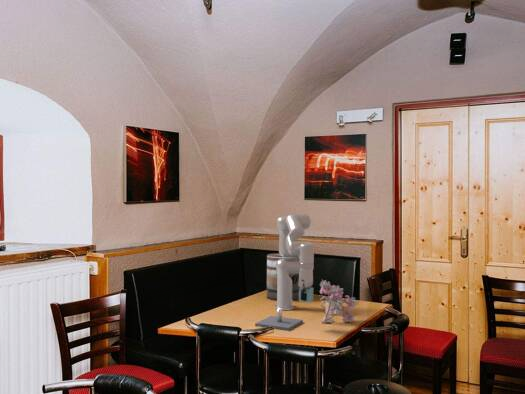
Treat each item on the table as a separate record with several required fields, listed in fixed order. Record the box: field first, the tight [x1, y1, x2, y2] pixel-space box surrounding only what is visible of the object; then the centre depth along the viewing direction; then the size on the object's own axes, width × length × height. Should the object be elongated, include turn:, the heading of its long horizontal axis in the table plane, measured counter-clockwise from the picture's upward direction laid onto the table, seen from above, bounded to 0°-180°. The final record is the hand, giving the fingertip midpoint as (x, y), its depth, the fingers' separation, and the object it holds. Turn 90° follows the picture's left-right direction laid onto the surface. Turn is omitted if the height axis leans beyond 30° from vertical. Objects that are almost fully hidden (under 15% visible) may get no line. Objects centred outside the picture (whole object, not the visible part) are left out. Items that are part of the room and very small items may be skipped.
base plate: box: [254, 315, 304, 332], centre depth 284 cm, size 20×20×2 cm
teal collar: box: [298, 287, 314, 303], centre depth 278 cm, size 6×6×7 cm
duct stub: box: [276, 309, 283, 322], centre depth 284 cm, size 3×3×7 cm
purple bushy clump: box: [320, 295, 338, 316], centre depth 313 cm, size 12×9×12 cm
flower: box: [319, 279, 357, 324], centre depth 290 cm, size 20×22×25 cm
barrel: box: [266, 252, 300, 302], centre depth 358 cm, size 22×22×30 cm
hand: (306, 298), depth 278 cm, fingers closed on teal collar, 5 cm apart
